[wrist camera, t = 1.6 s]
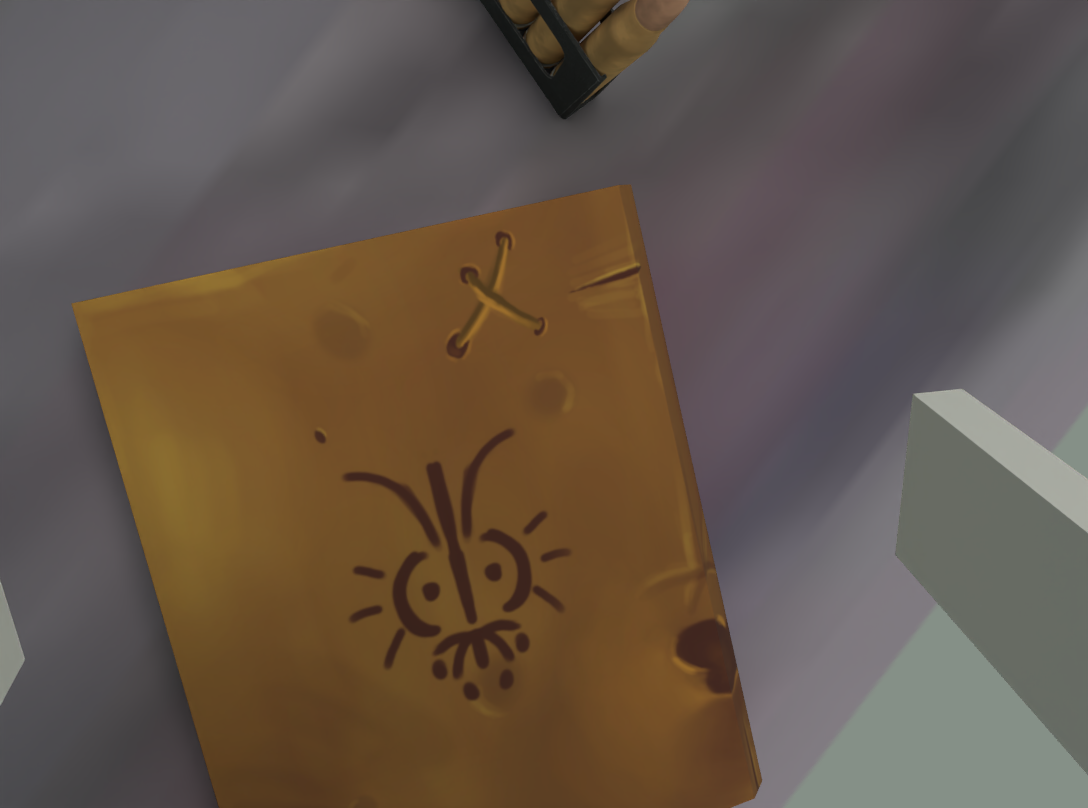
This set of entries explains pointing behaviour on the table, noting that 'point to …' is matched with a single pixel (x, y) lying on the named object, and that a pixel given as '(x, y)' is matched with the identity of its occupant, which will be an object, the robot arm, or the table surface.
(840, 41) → the table surface
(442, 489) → the diary
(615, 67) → the ammunition clip
